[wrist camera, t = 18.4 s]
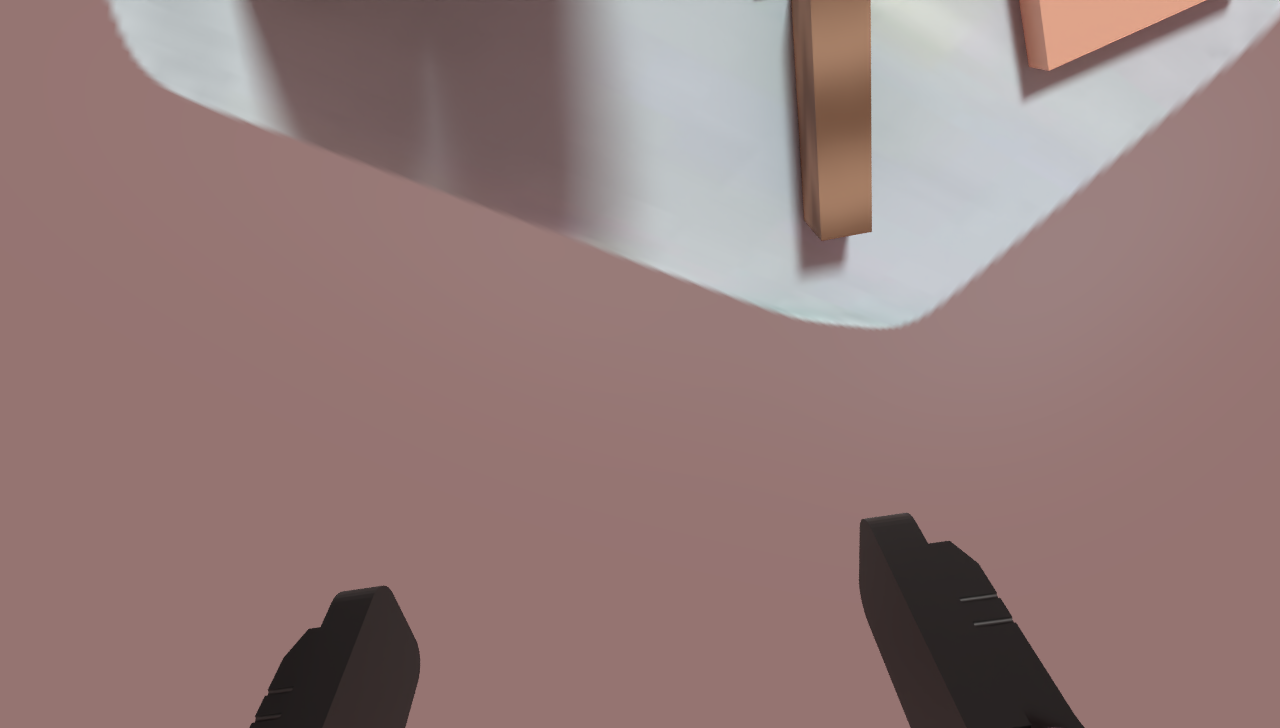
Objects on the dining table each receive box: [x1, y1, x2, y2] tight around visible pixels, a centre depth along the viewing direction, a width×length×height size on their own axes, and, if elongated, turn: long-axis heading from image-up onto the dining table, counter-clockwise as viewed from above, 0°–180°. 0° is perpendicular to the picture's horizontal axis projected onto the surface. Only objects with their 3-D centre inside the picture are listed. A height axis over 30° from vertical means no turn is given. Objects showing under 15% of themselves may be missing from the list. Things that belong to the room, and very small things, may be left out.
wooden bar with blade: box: [791, 0, 872, 241], centre depth 31 cm, size 18×6×4 cm, turn 10°
